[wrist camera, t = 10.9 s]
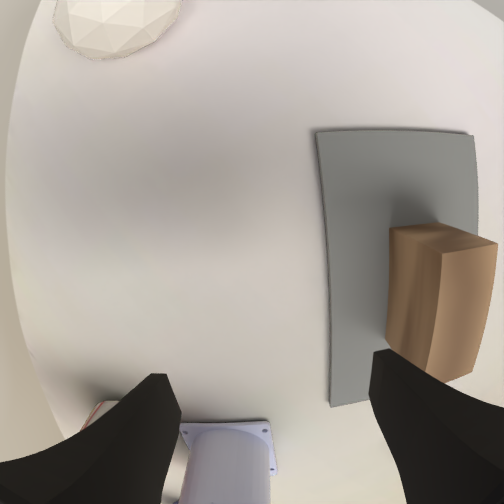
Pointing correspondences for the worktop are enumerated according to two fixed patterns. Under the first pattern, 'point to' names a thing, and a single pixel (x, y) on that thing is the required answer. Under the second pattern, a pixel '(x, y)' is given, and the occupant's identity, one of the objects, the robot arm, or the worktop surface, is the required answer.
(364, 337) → the mat
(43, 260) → the worktop surface
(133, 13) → the geometric ball
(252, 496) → the robot arm
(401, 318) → the brown block
